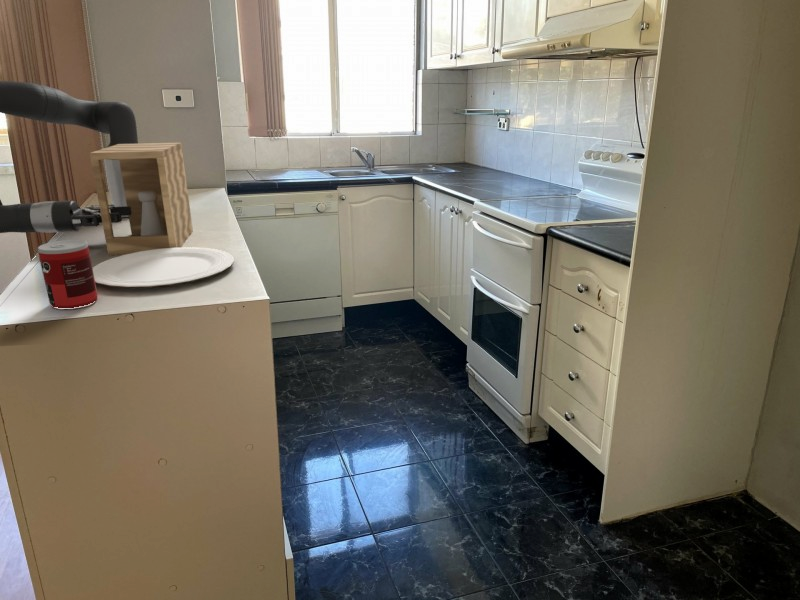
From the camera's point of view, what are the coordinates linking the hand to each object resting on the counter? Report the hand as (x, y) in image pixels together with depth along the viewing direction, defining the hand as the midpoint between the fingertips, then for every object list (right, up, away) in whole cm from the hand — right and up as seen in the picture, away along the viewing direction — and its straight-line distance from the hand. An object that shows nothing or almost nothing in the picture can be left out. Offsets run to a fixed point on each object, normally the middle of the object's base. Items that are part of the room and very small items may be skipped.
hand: (126, 214), depth 148 cm
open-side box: (+6, -7, +3) cm, 9 cm away
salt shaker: (+6, -7, +3) cm, 10 cm away
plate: (+18, -16, -21) cm, 31 cm away
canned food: (+9, -22, -39) cm, 46 cm away
